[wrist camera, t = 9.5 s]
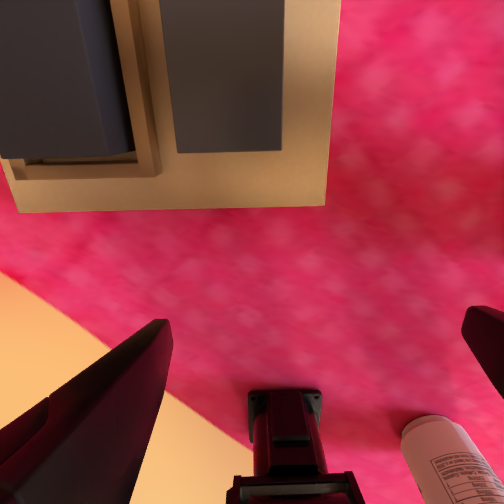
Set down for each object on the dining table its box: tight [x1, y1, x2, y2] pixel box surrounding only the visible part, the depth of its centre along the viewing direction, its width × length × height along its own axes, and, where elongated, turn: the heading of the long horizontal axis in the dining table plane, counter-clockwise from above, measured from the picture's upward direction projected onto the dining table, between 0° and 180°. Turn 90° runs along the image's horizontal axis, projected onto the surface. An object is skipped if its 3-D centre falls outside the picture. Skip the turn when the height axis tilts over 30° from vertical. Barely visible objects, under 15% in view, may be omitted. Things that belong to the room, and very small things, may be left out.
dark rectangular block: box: [0, 0, 136, 159], centre depth 13 cm, size 7×5×4 cm
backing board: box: [0, 0, 341, 213], centre depth 14 cm, size 14×19×4 cm
